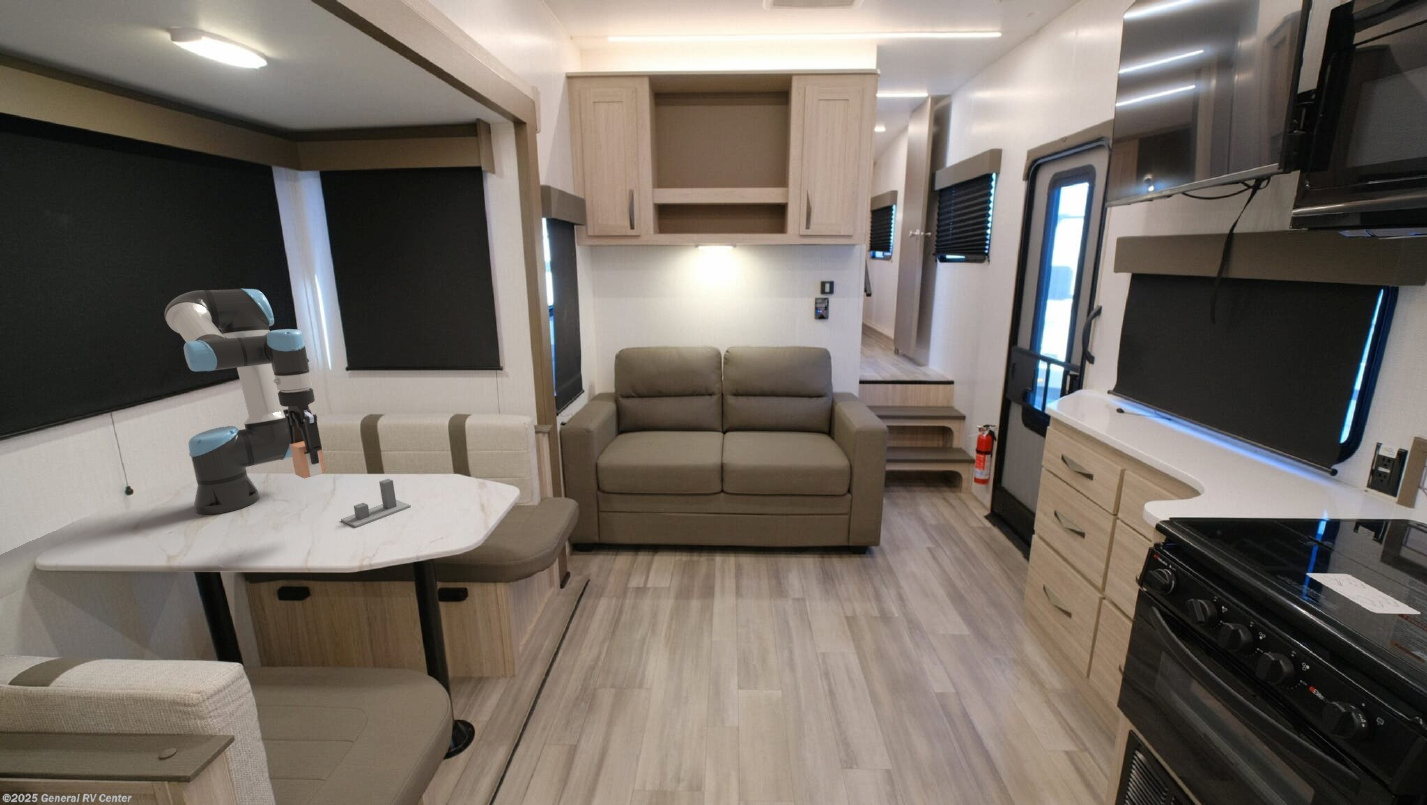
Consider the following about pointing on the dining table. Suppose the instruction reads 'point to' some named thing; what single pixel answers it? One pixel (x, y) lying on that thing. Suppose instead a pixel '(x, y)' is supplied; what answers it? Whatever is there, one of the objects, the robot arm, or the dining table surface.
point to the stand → (377, 507)
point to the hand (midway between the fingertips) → (310, 472)
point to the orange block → (303, 459)
